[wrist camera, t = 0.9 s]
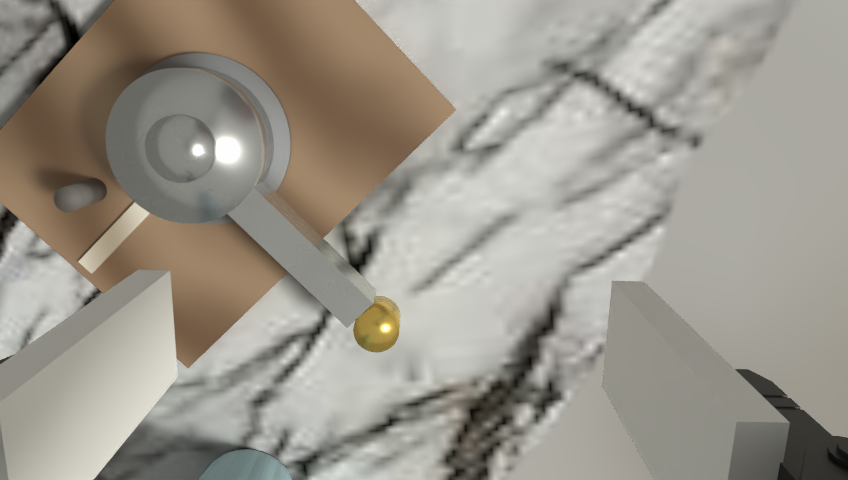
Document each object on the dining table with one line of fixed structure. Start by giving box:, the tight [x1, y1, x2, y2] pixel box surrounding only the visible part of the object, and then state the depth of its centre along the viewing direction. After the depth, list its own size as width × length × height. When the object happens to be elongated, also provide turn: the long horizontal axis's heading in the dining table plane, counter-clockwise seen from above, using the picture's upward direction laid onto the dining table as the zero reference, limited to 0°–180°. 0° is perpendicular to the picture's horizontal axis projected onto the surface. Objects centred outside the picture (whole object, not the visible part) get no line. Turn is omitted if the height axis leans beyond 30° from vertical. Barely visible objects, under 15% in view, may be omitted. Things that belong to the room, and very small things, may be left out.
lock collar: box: [105, 68, 400, 352], centre depth 32 cm, size 7×17×3 cm, turn 44°
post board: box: [0, 0, 456, 368], centre depth 33 cm, size 20×15×4 cm
